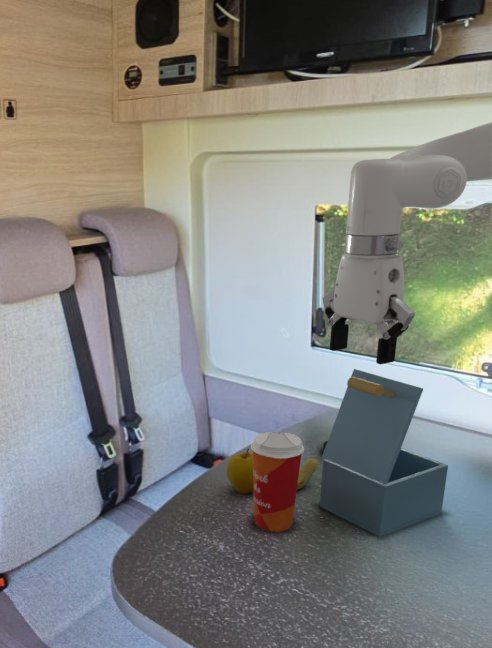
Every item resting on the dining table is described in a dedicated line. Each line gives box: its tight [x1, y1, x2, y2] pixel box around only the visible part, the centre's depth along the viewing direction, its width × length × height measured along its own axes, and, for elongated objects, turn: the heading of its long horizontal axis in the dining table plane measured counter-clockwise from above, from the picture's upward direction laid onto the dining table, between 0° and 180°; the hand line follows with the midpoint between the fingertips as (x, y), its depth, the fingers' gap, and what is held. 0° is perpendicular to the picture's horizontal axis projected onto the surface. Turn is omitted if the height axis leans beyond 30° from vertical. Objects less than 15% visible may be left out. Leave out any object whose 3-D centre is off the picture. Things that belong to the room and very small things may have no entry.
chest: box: [319, 447, 449, 538], centre depth 120 cm, size 15×13×9 cm
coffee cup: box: [250, 431, 305, 533], centre depth 117 cm, size 8×8×15 cm
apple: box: [226, 447, 254, 495], centre depth 130 cm, size 6×6×8 cm
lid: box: [321, 368, 424, 484], centre depth 113 cm, size 16×13×6 cm
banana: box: [297, 457, 318, 491], centre depth 131 cm, size 10×2×4 cm, turn 136°
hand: (360, 355), depth 114 cm, fingers open, 9 cm apart
